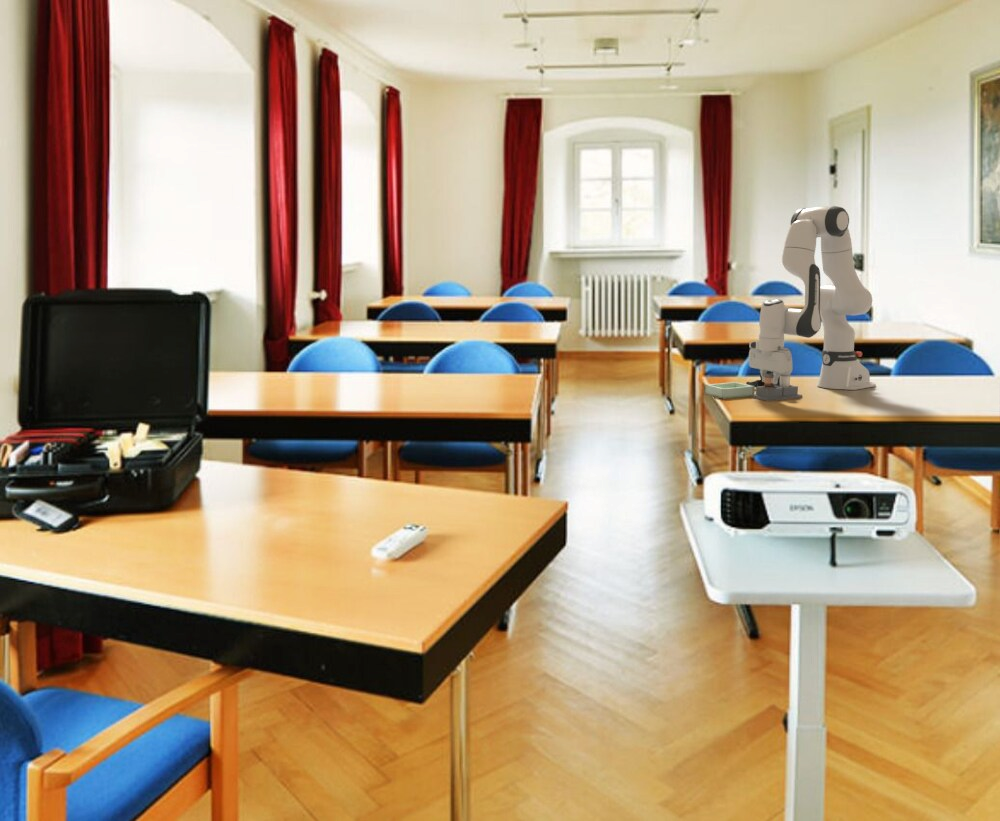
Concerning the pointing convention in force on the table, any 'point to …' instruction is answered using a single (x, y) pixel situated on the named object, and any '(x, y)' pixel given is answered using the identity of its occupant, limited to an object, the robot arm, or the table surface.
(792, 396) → the block
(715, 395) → the tray
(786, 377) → the ball
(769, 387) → the fuse
